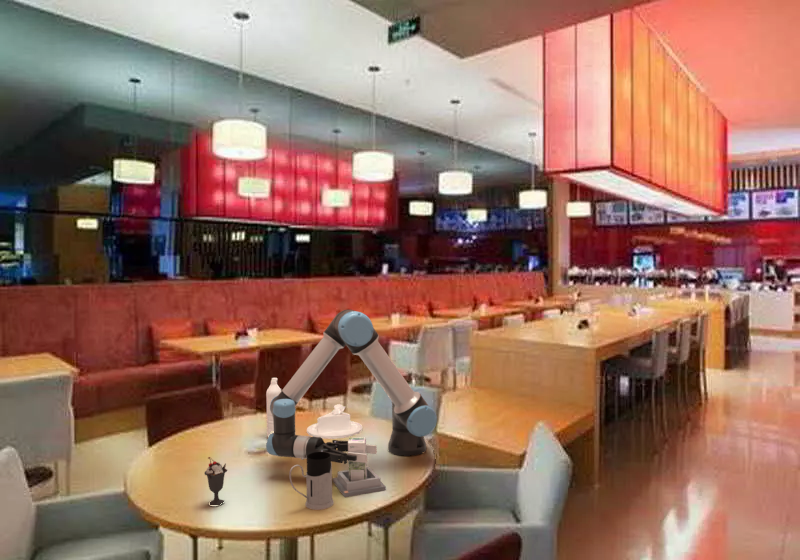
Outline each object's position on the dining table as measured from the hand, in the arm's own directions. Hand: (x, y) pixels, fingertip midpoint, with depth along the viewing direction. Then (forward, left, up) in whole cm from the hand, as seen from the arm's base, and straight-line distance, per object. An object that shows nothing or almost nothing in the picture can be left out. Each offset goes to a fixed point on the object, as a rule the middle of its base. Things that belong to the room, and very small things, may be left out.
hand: (371, 453), depth 185 cm
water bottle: (+42, -57, -11) cm, 72 cm away
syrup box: (+5, -2, -10) cm, 11 cm away
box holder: (+4, -2, -11) cm, 12 cm away
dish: (+17, -66, -12) cm, 69 cm away
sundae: (+48, +9, -11) cm, 51 cm away
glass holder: (+18, +13, -11) cm, 25 cm away
